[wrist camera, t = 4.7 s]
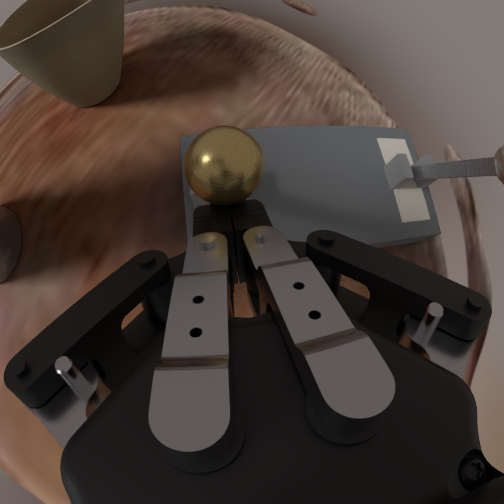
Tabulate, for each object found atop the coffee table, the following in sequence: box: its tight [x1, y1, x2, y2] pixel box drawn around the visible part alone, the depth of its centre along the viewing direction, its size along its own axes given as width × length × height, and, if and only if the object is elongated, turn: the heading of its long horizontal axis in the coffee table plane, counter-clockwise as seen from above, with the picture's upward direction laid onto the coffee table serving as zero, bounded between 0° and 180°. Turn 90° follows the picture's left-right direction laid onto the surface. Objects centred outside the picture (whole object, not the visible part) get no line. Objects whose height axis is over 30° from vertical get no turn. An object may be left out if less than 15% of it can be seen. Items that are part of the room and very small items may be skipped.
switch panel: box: [180, 126, 441, 267], centre depth 26 cm, size 24×12×7 cm, turn 98°
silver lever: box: [410, 145, 504, 184], centre depth 18 cm, size 3×3×15 cm
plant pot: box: [0, 0, 124, 107], centre depth 22 cm, size 15×15×16 cm
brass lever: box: [184, 126, 265, 205], centre depth 17 cm, size 3×3×15 cm
